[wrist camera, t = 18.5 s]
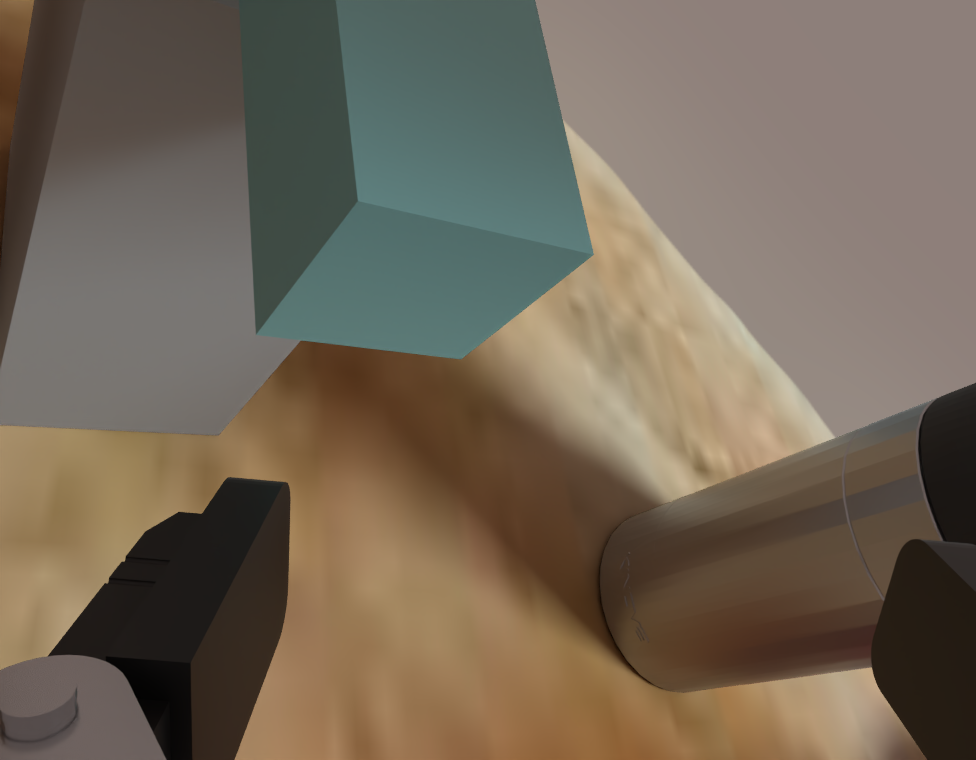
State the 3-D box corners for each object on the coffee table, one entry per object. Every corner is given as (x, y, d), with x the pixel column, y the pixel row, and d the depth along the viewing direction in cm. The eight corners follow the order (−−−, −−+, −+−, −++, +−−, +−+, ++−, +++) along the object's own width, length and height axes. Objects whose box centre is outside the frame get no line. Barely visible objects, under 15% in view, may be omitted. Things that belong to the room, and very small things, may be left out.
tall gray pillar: (211, 189, 37) (436, -256, 22) (218, 435, 33) (508, 101, 17) (10, 146, 33) (110, -453, 17) (-13, 424, 28) (93, -40, 13)
